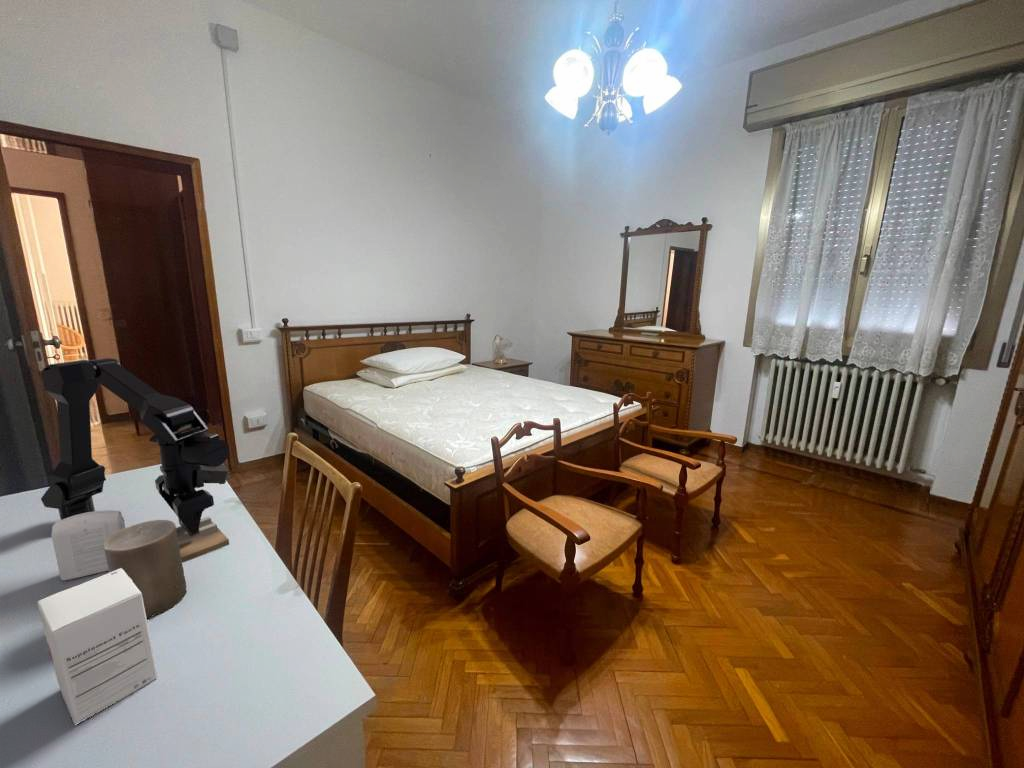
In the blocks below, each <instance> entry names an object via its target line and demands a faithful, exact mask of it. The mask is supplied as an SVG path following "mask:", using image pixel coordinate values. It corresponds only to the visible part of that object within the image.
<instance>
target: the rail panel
mask: <svg viewBox="0 0 1024 768" xmlns="http://www.w3.org/2000/svg"><path fill="white" fill-rule="evenodd" d="M199 531H200V534H198V535H195V536H192V537H191V536H190V535H189V534H188V533H187V532H186V530H185V529H184V528H183V527H182V526H181V525H180V526H177V527H176V532H177V537H178V543H179V549H180V554H181V560H182V564H183V563H185V562H188V561H191V560H193V559H196V558H197V557H201V556H203V555H206V554H208V553H211V552H214V551H216V550H219V549H221V548H223V547H226V546H229V545H230V539H229V538H228V537H227V536H226V535H225V533H224V532H223V531H221V529H220V528H219V527H218V524H216V523H214V521H212V518H211V517H210V516H207V517H204V518H201V520H200V525H199Z"/></svg>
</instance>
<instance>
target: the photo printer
mask: <svg viewBox="0 0 1024 768" xmlns="http://www.w3.org/2000/svg"><path fill="white" fill-rule="evenodd" d="M124 528H126V524H125V519H124V517H123V514H122V512H121V511H120V510H111V509H108V510H107V509H106V510H95V511H93V512H87V513H82V514H78V515H74V516H71V517H68V518H65V519H63V520H61V519H59V520H58V521H56V522H54V524H53V525H52V528H51V533H50V536H51V539H52V544H53V549H54V555H55V559H56V563H57V564H56V565H57V567H58V568H57V569H58V572H59V576H60V577H59V578H60V579H61V580H62V581H69V580H75V579H78V578H82V577H86V576H90V575H93V574H94V575H95V574H98V573H103V572H109V571H108V565H107V560H106V555H105V550H104V549H103V548H104V547H103V544H104V542H105V541H106V540H107V539H108V538H109V537H110V536H112V535H113V534H115V533H117V532H119V531H120V530H122V529H124Z"/></svg>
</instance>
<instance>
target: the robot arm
mask: <svg viewBox="0 0 1024 768" xmlns="http://www.w3.org/2000/svg"><path fill="white" fill-rule="evenodd" d="M40 377H41V381H42V383H43V388H44V390H45V392H46V393H47V394H48V395H50V397H52V399H54V401H56V409H57V410H56V412H57V425H58V439H59V441H58V442H59V454H60V455H59V456H60V462H59V463H58V464H57V466H56V467H55V468H54V470H53V471H52V472H51V474H50V481H49V482H50V484H49V487H48V488H47V489H46V491H45V492H44V494H43V495H42V497H41V498H40V500H41V502H42V504H43V506H44V507H45V508H49V509H56V510H58V514H59V518H60V519H59V520H63V519H65V518H68V517H71V516H74V515H78V514H82V513H87V512H93V511H96V510H95V504H94V499H93V496H95V495H97V494H100V493H103V490H104V484H105V482H106V481H107V478H106V475H105V473H106V472H105V471H106V467H105V466H104V465H102V464H101V465H100V464H99V463H98V462H97V461H96V460H94V459H93V449H92V447H93V446H92V428H91V427H92V425H91V424H92V423H91V407H90V406H91V402H90V401H91V399H92V398H93V397H94V396H95V394H96V393H97V391H98V390H99V388H100V385H101V386H103V387H104V388H105V389H107V390H108V391H110V392H112V393H113V394H114V395H115V396H117V398H120V400H123V401H124V402H126V404H128V405H129V406H131V407H132V408H133V409H135V411H137V412H138V413H139V416H140V421H141V423H143V424H144V426H146V428H147V429H149V430H150V431H151V432H152V433H154V434H153V435H152V436H151V437H150V438H148V442H150V443H157V444H158V445H157V446H158V451H159V457H160V464H161V465H160V466H159V470H160V472H161V473H162V474H161V475H158V477H157V478H156V479H154V483H155V489H156V490H157V491H158V493H159V496H161V497H162V499H163V500H164V501H165V503H166V504H167V505H168V506H169V507H170V509H171V510H172V511H173V512H174V514H175V515H176V516H177V518H178V517H179V519H180V520H181V521H182V523H183V524H184V525H185V526H186V528H187V529H188V530H189V531H190V533H191V534H195V533H197V532H198V529H199V525H200V520H201V519H202V514H203V512H204V511H205V510H206V509H209V508H211V507H213V506H214V505H215V502H214V501H215V500H214V496H213V495H212V494H211V493H210V492H209V491H207V490H205V489H202V488H204V487H205V484H219V485H224V484H226V482H227V478H228V474H229V472H230V469H228V468H227V467H226V466H225V465H223V464H224V463H225V462H226V461H227V459H228V458H229V457H228V456H229V453H230V447H229V446H230V445H228V443H227V442H226V441H225V440H224V439H220V437H219V434H218V433H208V432H209V431H210V430H209V427H208V426H207V425H206V422H204V421H203V420H202V418H201V417H200V416H199V415H198V414H197V412H196V411H195V409H194V407H193V406H191V404H189V403H187V402H185V401H184V400H182V399H180V398H177V397H175V396H171V395H166V394H162V393H160V392H158V391H157V390H156V389H154V388H153V387H151V386H149V385H148V384H147V383H146V382H144V381H142V380H141V379H140V378H138V377H137V376H136V375H134V374H133V373H132V372H130V371H128V370H127V369H126V368H125V367H123V366H122V365H121V363H120V362H119V361H118V360H117V359H116V358H111V357H104V358H103V357H102V358H96V359H90V360H87V359H80V360H72V361H65V362H58V363H51V364H48V365H46V366H45V367H43V369H42V371H41V376H40ZM187 428H188V429H187ZM178 431H179V432H178ZM196 489H198V490H196ZM179 519H178V520H179Z"/></svg>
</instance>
